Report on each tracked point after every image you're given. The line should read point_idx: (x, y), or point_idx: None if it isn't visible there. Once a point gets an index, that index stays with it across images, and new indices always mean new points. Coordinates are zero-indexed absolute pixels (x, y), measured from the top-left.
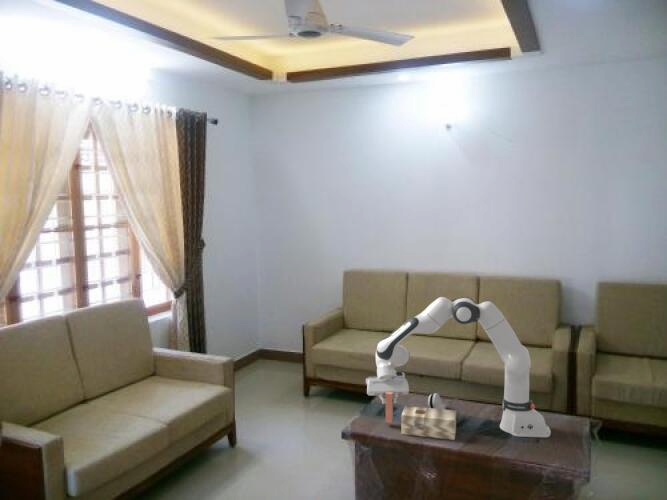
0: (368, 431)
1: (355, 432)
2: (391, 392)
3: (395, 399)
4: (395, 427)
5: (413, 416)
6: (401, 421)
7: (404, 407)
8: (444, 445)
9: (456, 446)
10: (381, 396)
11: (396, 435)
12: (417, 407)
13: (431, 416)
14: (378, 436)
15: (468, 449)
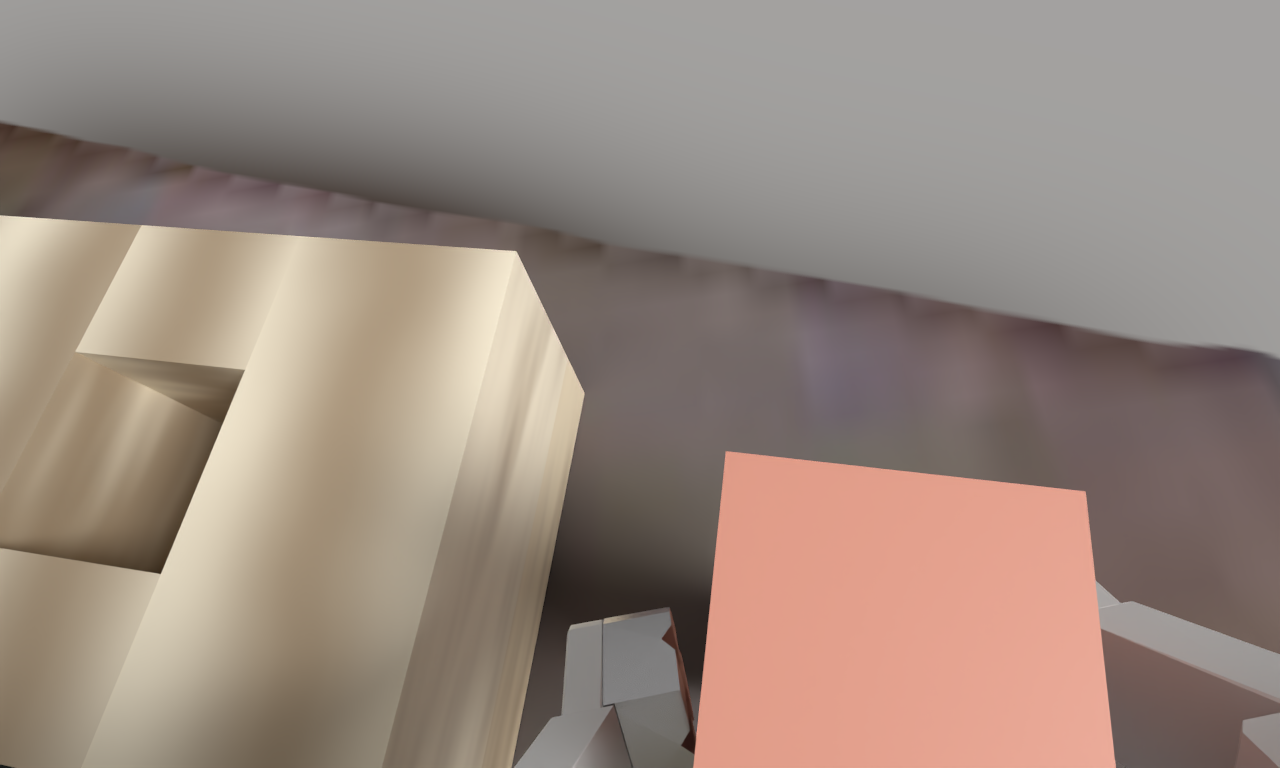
0: (1027, 408)
1: (1199, 352)
2: (775, 765)
3: (595, 673)
4: (660, 597)
5: (307, 240)
6: (543, 314)
7: (399, 689)
8: (179, 211)
9: (78, 211)
10: (1233, 660)
11: (643, 348)
12: (81, 730)
13: (2, 278)
14: (860, 289)
15: (2, 177)
